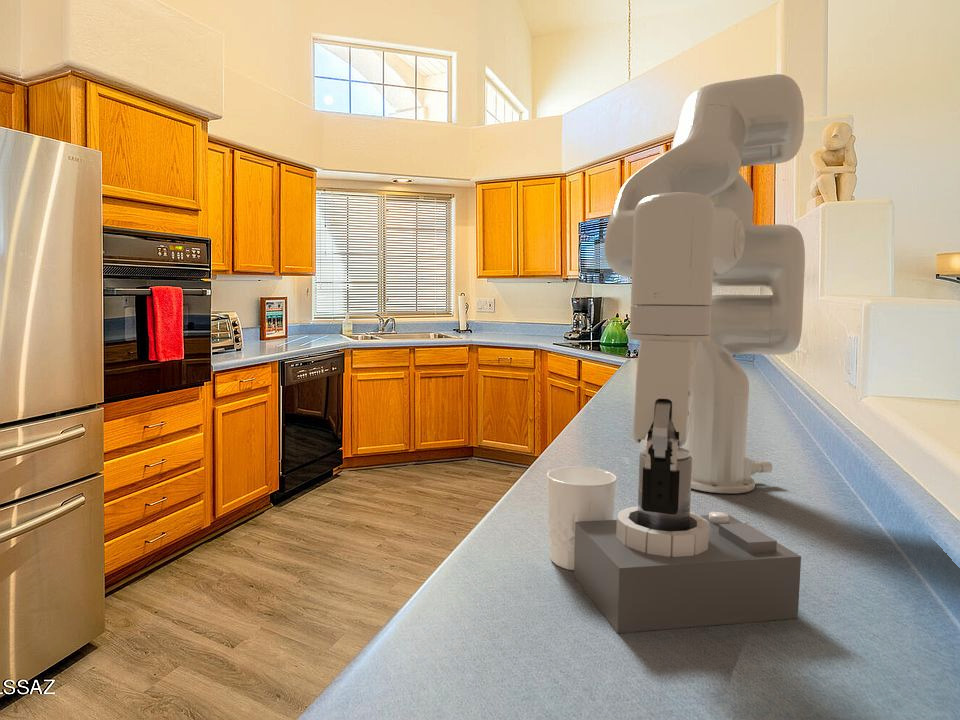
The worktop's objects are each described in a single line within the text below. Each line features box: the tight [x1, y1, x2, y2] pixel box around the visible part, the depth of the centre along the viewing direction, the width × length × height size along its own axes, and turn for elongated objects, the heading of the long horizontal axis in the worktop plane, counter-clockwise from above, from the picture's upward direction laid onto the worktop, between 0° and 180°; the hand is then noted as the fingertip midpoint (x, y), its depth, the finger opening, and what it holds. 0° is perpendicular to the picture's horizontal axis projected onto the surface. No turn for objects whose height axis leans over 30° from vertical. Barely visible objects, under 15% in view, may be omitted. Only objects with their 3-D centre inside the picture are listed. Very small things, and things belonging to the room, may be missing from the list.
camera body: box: [573, 505, 802, 634], centre depth 61 cm, size 18×12×8 cm, turn 100°
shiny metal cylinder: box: [637, 445, 692, 532], centre depth 61 cm, size 5×5×9 cm
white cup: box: [546, 466, 617, 572], centre depth 70 cm, size 8×8×10 cm
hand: (663, 496), depth 61 cm, fingers open, 9 cm apart
